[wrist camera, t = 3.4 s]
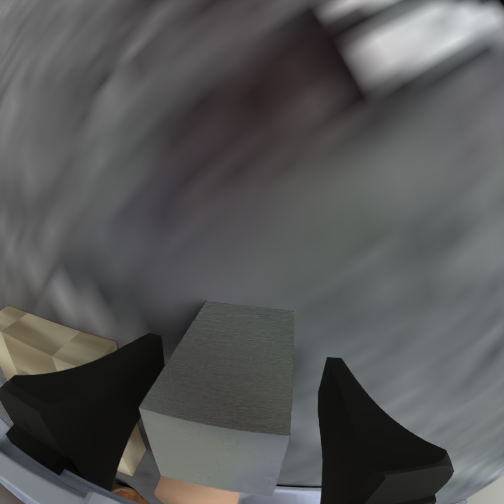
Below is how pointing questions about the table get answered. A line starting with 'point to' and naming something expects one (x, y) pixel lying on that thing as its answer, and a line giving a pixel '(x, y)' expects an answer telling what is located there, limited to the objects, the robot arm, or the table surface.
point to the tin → (127, 493)
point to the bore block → (55, 358)
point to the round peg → (191, 493)
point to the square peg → (225, 400)
